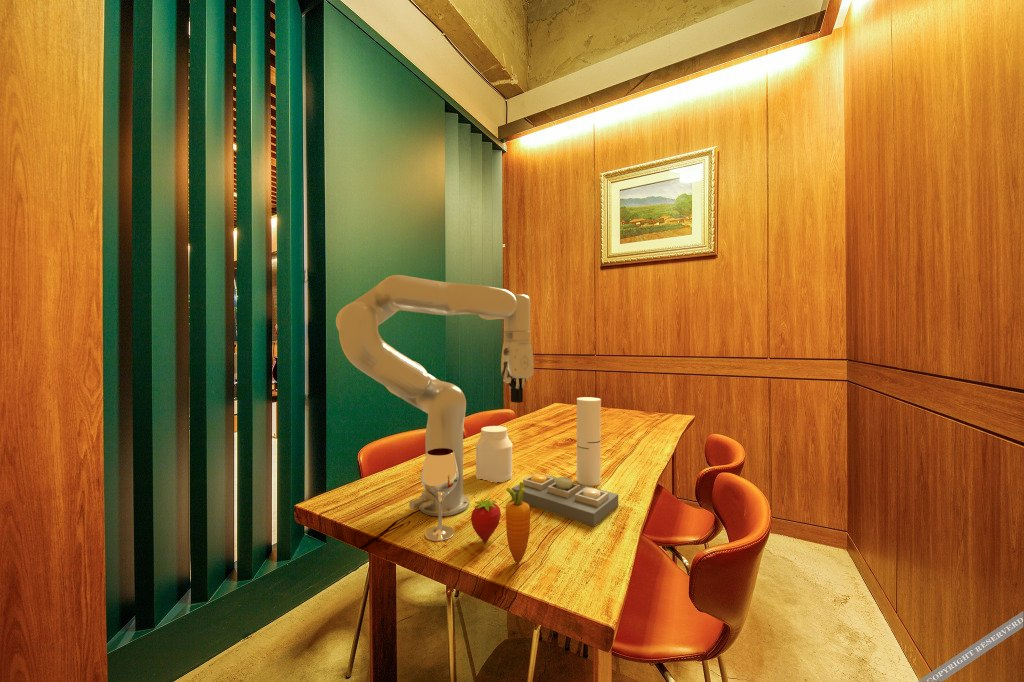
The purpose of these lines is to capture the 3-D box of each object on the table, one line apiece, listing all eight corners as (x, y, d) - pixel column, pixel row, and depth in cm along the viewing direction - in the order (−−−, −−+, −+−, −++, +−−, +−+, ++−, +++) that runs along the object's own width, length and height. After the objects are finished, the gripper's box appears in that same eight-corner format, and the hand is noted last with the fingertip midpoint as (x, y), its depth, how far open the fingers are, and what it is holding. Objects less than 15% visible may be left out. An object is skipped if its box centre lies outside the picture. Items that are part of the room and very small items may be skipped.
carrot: (510, 573, 68) (511, 491, 68) (500, 559, 73) (501, 481, 73) (535, 567, 70) (535, 486, 70) (523, 553, 75) (524, 478, 75)
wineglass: (445, 521, 88) (445, 444, 88) (466, 533, 82) (466, 451, 82) (413, 533, 82) (414, 451, 82) (434, 548, 76) (434, 459, 76)
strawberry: (506, 536, 81) (506, 490, 81) (489, 553, 74) (489, 503, 74) (483, 530, 84) (483, 485, 84) (464, 546, 77) (464, 498, 77)
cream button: (595, 502, 90) (595, 496, 90) (580, 498, 93) (580, 491, 93) (603, 497, 94) (603, 490, 94) (588, 493, 96) (588, 486, 96)
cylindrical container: (602, 485, 110) (603, 400, 110) (578, 485, 110) (578, 400, 110) (597, 477, 117) (598, 397, 117) (575, 476, 117) (575, 397, 117)
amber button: (540, 486, 100) (540, 480, 100) (528, 483, 103) (528, 477, 103) (549, 482, 104) (549, 476, 104) (536, 478, 106) (536, 473, 106)
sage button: (566, 490, 95) (566, 484, 95) (552, 486, 98) (552, 480, 98) (574, 485, 99) (574, 479, 99) (561, 481, 101) (561, 475, 101)
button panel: (593, 526, 85) (593, 507, 85) (511, 499, 100) (511, 482, 100) (618, 506, 96) (618, 489, 96) (540, 484, 111) (540, 469, 111)
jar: (517, 474, 119) (517, 427, 119) (503, 484, 111) (503, 434, 111) (485, 469, 124) (486, 424, 124) (470, 478, 116) (470, 430, 116)
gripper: (510, 337, 99) (510, 406, 99) (542, 338, 111) (542, 400, 111) (489, 337, 104) (489, 404, 104) (522, 338, 115) (521, 397, 115)
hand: (516, 401), depth 107 cm, fingers closed
